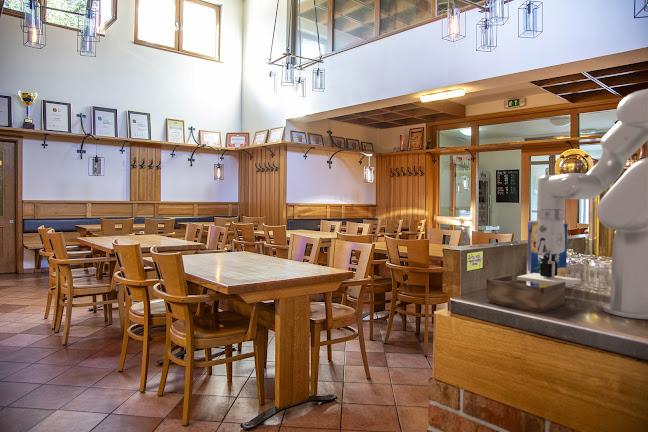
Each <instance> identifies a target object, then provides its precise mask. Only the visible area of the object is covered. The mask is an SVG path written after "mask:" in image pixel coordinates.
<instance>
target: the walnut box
mask: <svg viewBox="0 0 648 432" xmlns="http://www.w3.org/2000/svg"><path fill="white" fill-rule="evenodd" d="M565 284H566V282H562V283H558V284H554V285H550V286H546V287H536V286H529V285H527V284H522V283H516V280H515V279H513V274H507V275H503V276H497V277H491V278H488V279H487V278H486V287H485V288H486V291H485V292H486V293H485V294H486V296H485V302H486V303H489V302H491V303H490V304H494V303H496V304H495V305H499V304H500V306H506V307H510V308H516V309H521V310H524V311H525V310H527V311H531V312H537V313H546V312H549V311H552V310H556V309H558V308H561V307H564V306H565V305H566V287H565Z"/></svg>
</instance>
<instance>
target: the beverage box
mask: <svg viewBox="0 0 648 432" xmlns="http://www.w3.org/2000/svg"><path fill="white" fill-rule="evenodd" d="M568 226H569V225H568V223H565V222H564V230H565V251H564V252H562V253H560V254H559V256H558V269H557V276H562V277H567V258H568V257H567V252H568V228H569V227H568ZM537 227H538V221H527V251H526V254H527V255H526V275H527V274H531V273H539V274H540V265H541V263H540V257H539V256H538V251H537V250H536V238H537ZM544 253H547V252H544ZM525 282H526V283H525V285H529V286H536V287H546V286H550V284H543V283H536V282H529V281H525Z"/></svg>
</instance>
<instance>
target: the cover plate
mask: <svg viewBox="0 0 648 432" xmlns="http://www.w3.org/2000/svg"><path fill="white" fill-rule="evenodd" d="M551 264H552V277H544V276H540V274H539V273H531V274H527V273H526V274H522V275H519V276H517V275H516V281H523V282H526V281H529V282H536V283H543V284H550V285H554V284H558V283H562V282H566V284H565V288H566V287H568V286H572V285H575V284H576V285H577V284H579V283H580V284H581V282H582V279H581V278H576V277H570V276H569V277H567V276H566V277H562V276H555V262H554V261H551Z"/></svg>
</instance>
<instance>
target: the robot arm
mask: <svg viewBox="0 0 648 432" xmlns="http://www.w3.org/2000/svg"><path fill="white" fill-rule="evenodd" d="M615 111H616V114H615V115H616V118H617V120H618V121H617V122H616V123H615V124H614V125H613V126H612V127H611V128H610V129H609V130H608V131H606V133H605V134H604V135H603V136H601V139H600V146H601V149H602V154H601V156H600V158H599V159H598V161H596V163H595V164H594V165H593V166H592V167H591V168H590V169H589V170H588V171H587V172H586V173H584V172H583V173H581V172H567V173H561V174H544V175H543V174H542V175H540V176H539V177H538V179H537V202H536V203H537V206H536V207H537V208H536V209H537V210H536V221H537V222H538V227H537V238H536V250H537V251H538V256H539V257H540V263H541V265H540V276H544V277H552V264H551V261H554V262H555V276H557V269H558V256H559V254H560V253H562V252H564V251H565V230H564V223H565V217H566V216H565V214H566V213H565V212H566V211H565V210H566V199H567V200H591V199H595V198H597V197H598V196H600V195H601V194H603V193H604V192H605V191H606V190H607V189H608V188H609V187H610V189H608V190H607V192H606V193H605V194H604V195H603V197H602V198H601V199H600V200H599V202H598V204H597V208H596V216H597V219H598V221H599V223H601V225H602V226H604V227H605V228H607V229H610V230H615V233H614V237H613V241H612V255H611V275H610V276H611V279H610V281H611V282H610V303H607V304H605V305H603V307H602V309H603V311H604V312H606V313H608V314H610V315H614V316H617V317H623V318H629V319H637V320H648V156H647V157H644V158H642V159H639V160H637V161H636V162H634V163H633V164H632V165H630V166H629V167H628V168H627V169H626V170H625V171H624V169H625V167H626V165H627V163H628V161H629V159H630V158H631V157H632V156H633V155H634V154H635V153H636V152H637V151H638V150H639V149H640V148H641V147H642V146H643V145H644V144H645V143H647V141H648V88H646V89H641V90H637V91H634V92H632V93H629V94H627V95H626V96H624V97H623V98H622V99H621V100H620V102H619V103H618V105H617V107H616V110H615ZM623 171H624V172H623ZM622 172H623V174H622ZM621 174H622V175H621ZM620 175H621V176H620ZM615 181H616V182H615ZM613 183H614V184H613ZM612 184H613V185H612ZM611 185H612V186H611ZM573 186H574V187H573ZM544 252H547V253H544Z"/></svg>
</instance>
